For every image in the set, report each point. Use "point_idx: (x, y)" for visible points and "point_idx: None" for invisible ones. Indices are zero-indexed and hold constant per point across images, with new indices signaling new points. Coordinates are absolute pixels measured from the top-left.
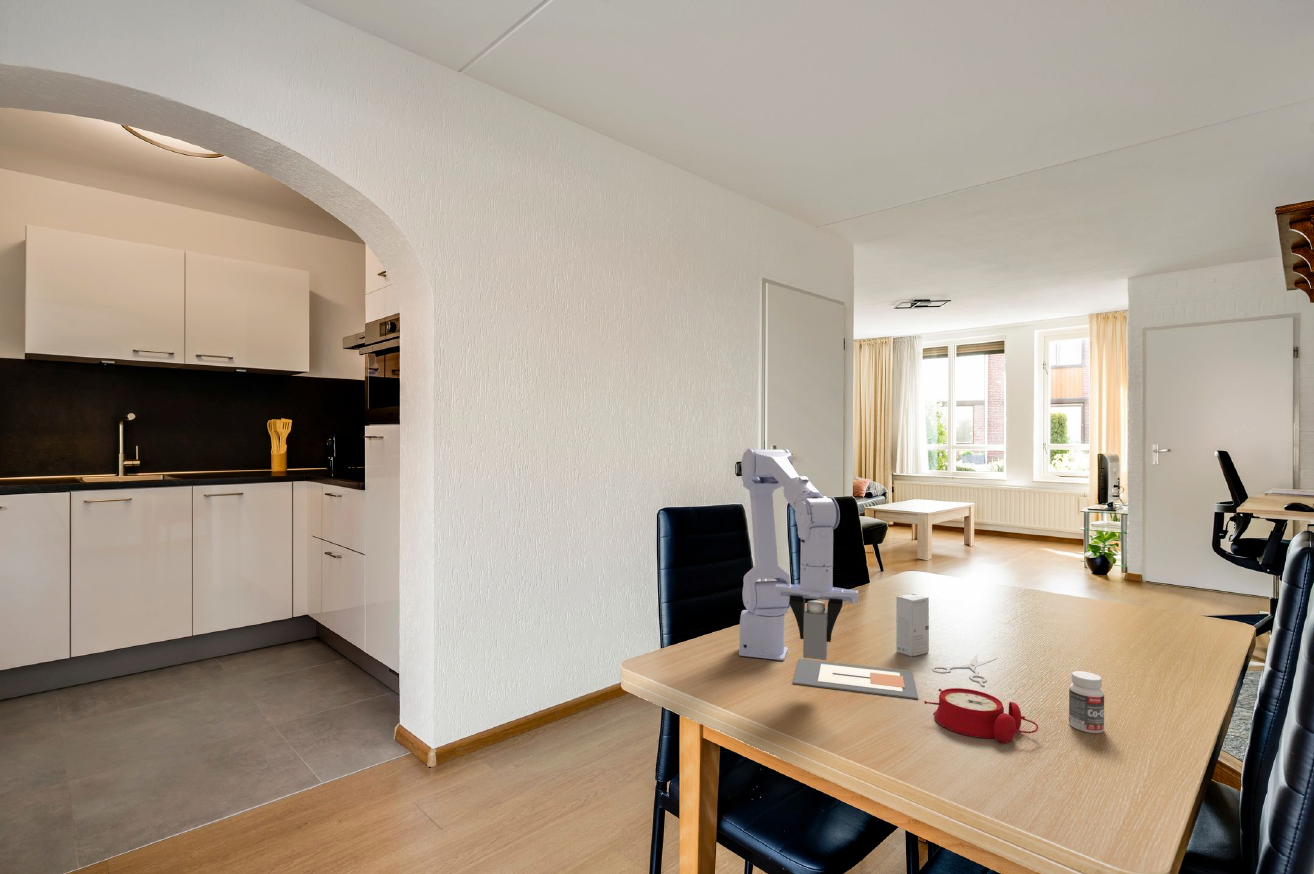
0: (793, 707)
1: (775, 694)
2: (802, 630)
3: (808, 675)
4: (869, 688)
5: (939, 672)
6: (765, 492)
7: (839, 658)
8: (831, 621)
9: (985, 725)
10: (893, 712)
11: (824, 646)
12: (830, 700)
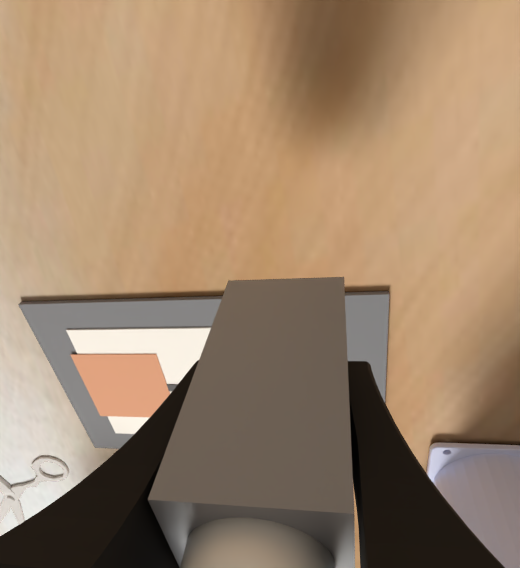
0: (364, 64)
1: (449, 172)
2: (358, 396)
3: None
4: (150, 323)
5: (48, 457)
6: None
7: None
8: (135, 455)
9: None
10: (37, 182)
11: (222, 321)
12: (239, 199)
